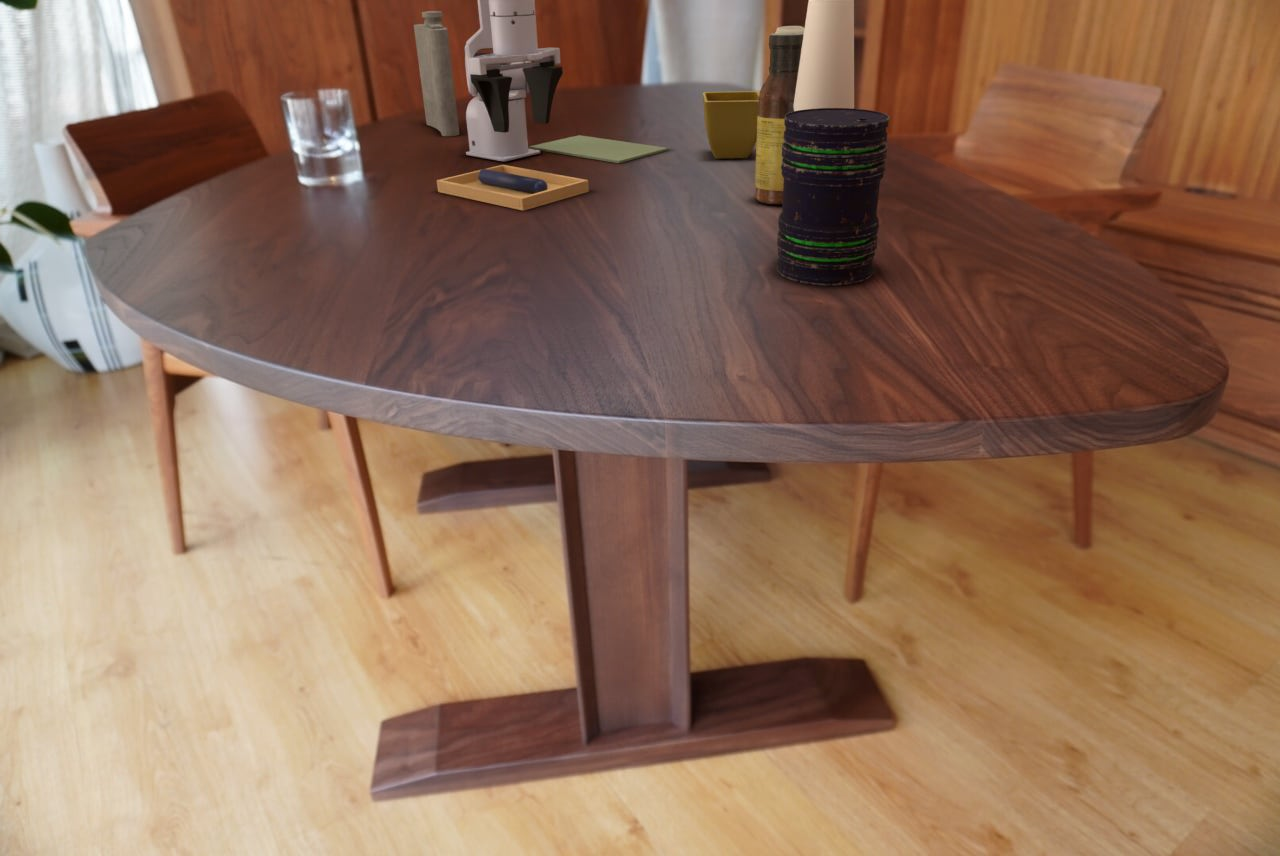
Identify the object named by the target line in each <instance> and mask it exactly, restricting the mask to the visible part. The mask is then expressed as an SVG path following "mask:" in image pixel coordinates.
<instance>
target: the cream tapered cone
mask: <svg viewBox="0 0 1280 856" xmlns="http://www.w3.org/2000/svg"><path fill="white" fill-rule="evenodd" d="M806 9H807V10H806V16H805V21H804V22H805V23H804V28H805V29H804V36H803V43H802V50H801V56H800V63H799V70H798V77H797V84H796V91H795V98H794V105H793V107H794V111H799V110H806V109H818V108H851V109H855V0H808V2H807V8H806Z"/></svg>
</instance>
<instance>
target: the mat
mask: <svg viewBox="0 0 1280 856" xmlns="http://www.w3.org/2000/svg"><path fill="white" fill-rule="evenodd" d="M528 149H534V150H539V151H540V152H547V153H553V154H557V155H565V156H571V157H577V158H583V159H589V160H596V161H603V162H607V163H608V162H609V163H613V164H614V163H615V164H622V163H626V162H630V161H633V160H636V159H641V158H645V157H649V156H652V155H656V154H660V153H663V152H664V153H665V152H667V151H669V148H668V147H664V146H659V145H651V144H644V143H638V142H637V143H636V142H630V141H622V140H615V139H608V138H600V137H595V136H588V135H580V134H578V135H574V136H568V137H565V138H560V139H555V140H552V141H547V142H542V143H537V144H534V145H533V144H532V145H530V146H529V145H528Z"/></svg>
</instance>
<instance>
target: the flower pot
mask: <svg viewBox="0 0 1280 856" xmlns="http://www.w3.org/2000/svg"><path fill="white" fill-rule="evenodd" d="M759 94H760V91H753V90H751V91H749V90H748V91H746V90H745V91H705V92H703V93H702V104H703V116H704V117H703V119H704V127H705V132H706V136H707V141H708V145H709V148H710V151H711V153H712V155H713V157H714V158H715V159H718V160H722V159H748V158H749V157H750V155H751V153H752V152H753V150H754V148H755V147H756V142H757V116H758V114H759Z"/></svg>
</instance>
